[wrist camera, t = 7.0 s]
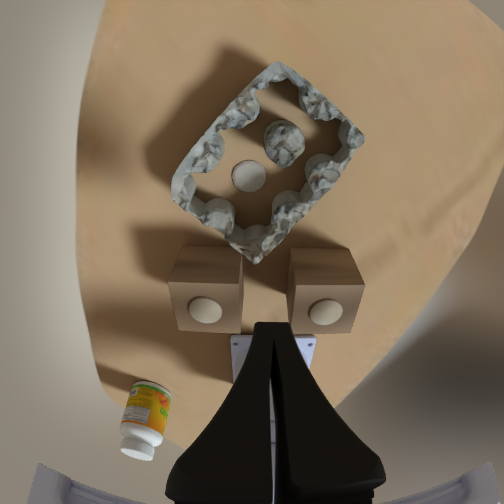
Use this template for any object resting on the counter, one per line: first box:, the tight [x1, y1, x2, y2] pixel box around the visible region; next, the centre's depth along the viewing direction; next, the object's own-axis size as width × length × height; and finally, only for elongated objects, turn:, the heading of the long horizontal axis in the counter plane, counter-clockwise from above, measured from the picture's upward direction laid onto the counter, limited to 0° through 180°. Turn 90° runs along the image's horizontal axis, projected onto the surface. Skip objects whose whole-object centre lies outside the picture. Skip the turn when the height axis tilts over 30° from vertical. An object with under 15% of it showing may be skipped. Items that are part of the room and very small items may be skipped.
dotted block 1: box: [168, 246, 244, 334], centre depth 21 cm, size 4×4×5 cm
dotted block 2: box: [286, 248, 365, 334], centre depth 21 cm, size 4×4×5 cm
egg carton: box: [171, 61, 366, 265], centre depth 16 cm, size 11×8×4 cm
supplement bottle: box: [120, 381, 171, 461], centre depth 30 cm, size 5×5×10 cm
